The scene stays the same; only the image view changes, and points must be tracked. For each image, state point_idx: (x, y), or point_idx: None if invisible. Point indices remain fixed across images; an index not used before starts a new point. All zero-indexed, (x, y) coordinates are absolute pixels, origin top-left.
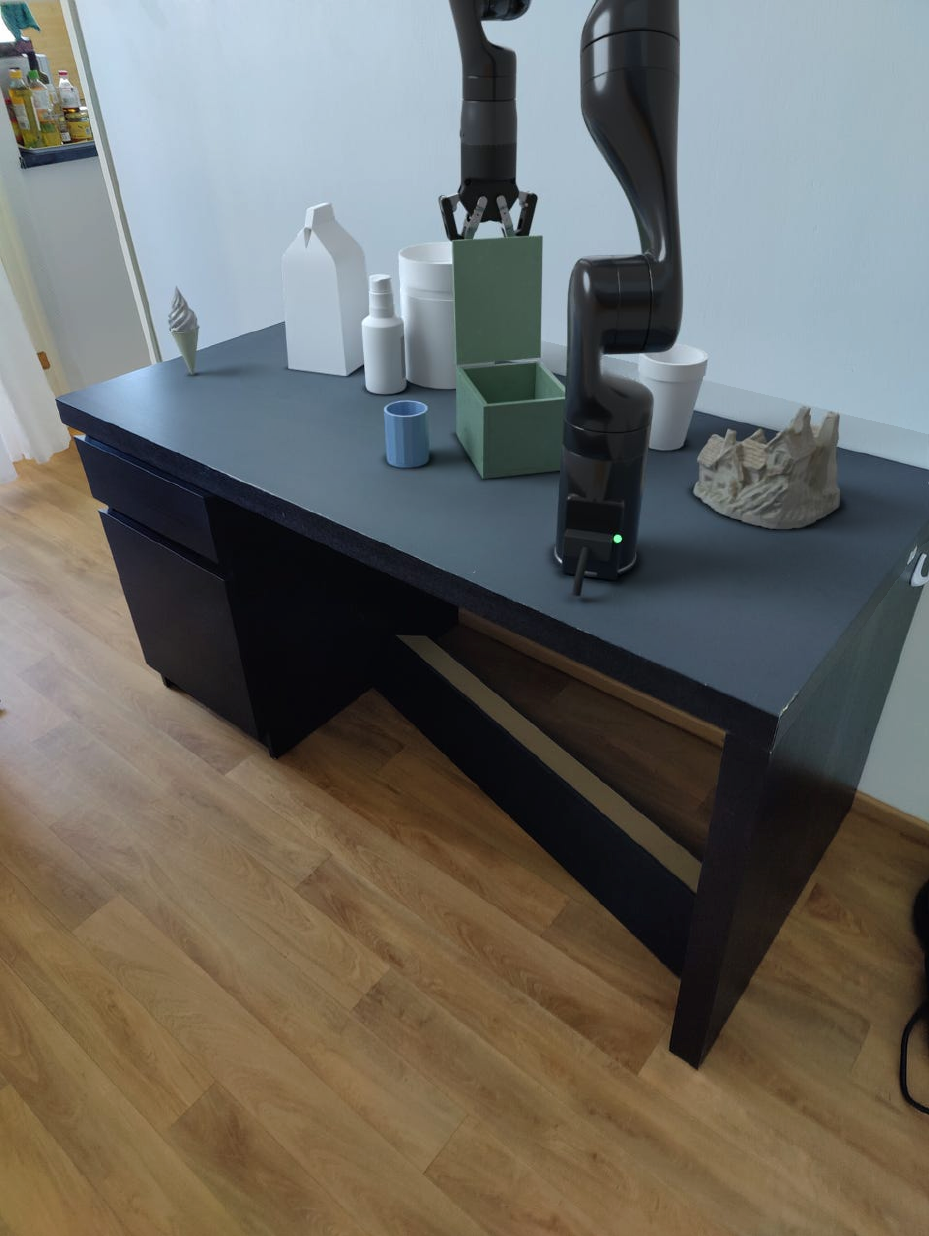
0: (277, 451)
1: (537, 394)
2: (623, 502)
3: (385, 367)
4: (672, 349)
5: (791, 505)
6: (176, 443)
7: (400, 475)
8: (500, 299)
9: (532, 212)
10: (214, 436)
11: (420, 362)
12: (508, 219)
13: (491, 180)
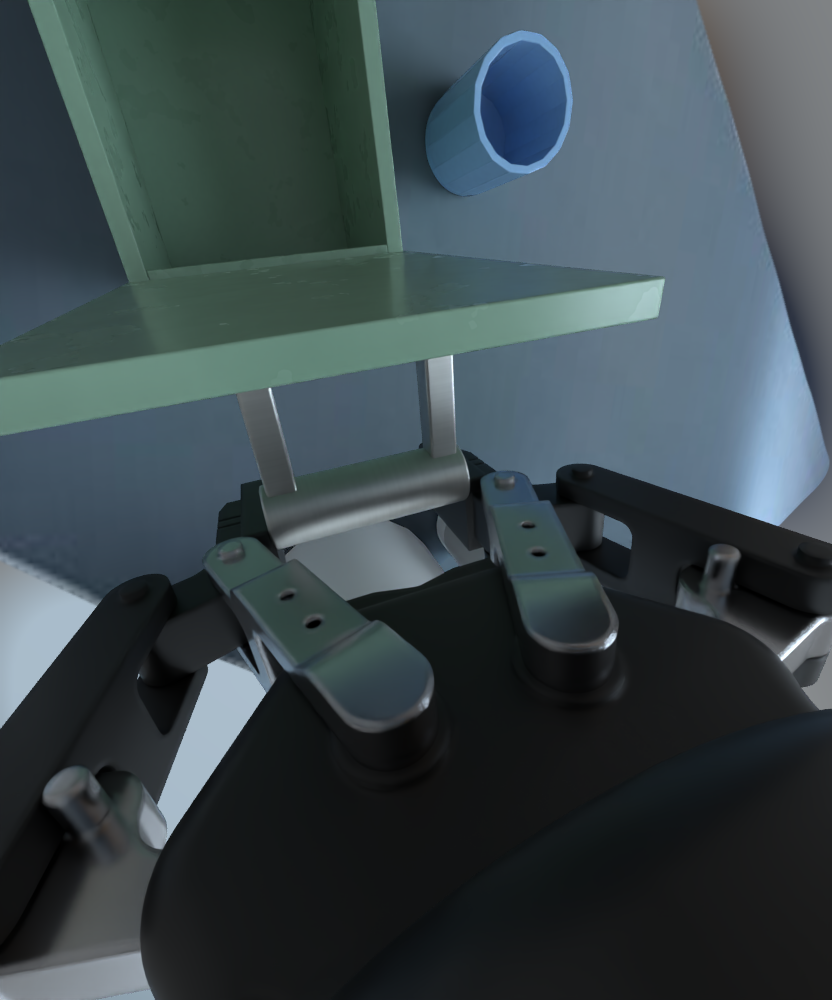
0: (662, 239)
1: (152, 245)
2: None
3: None
4: None
5: None
6: (769, 299)
7: (489, 46)
8: (291, 282)
9: (12, 738)
10: (724, 321)
11: (424, 551)
12: (272, 602)
13: (754, 734)
